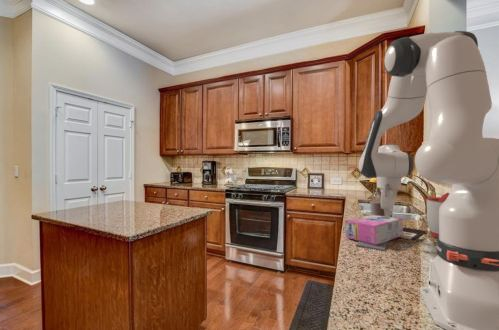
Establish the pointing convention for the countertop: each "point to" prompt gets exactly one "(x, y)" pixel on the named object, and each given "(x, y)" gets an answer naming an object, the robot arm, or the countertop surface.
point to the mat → (372, 246)
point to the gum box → (374, 229)
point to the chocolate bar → (412, 233)
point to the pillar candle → (377, 208)
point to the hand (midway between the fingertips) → (388, 216)
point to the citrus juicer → (434, 213)
